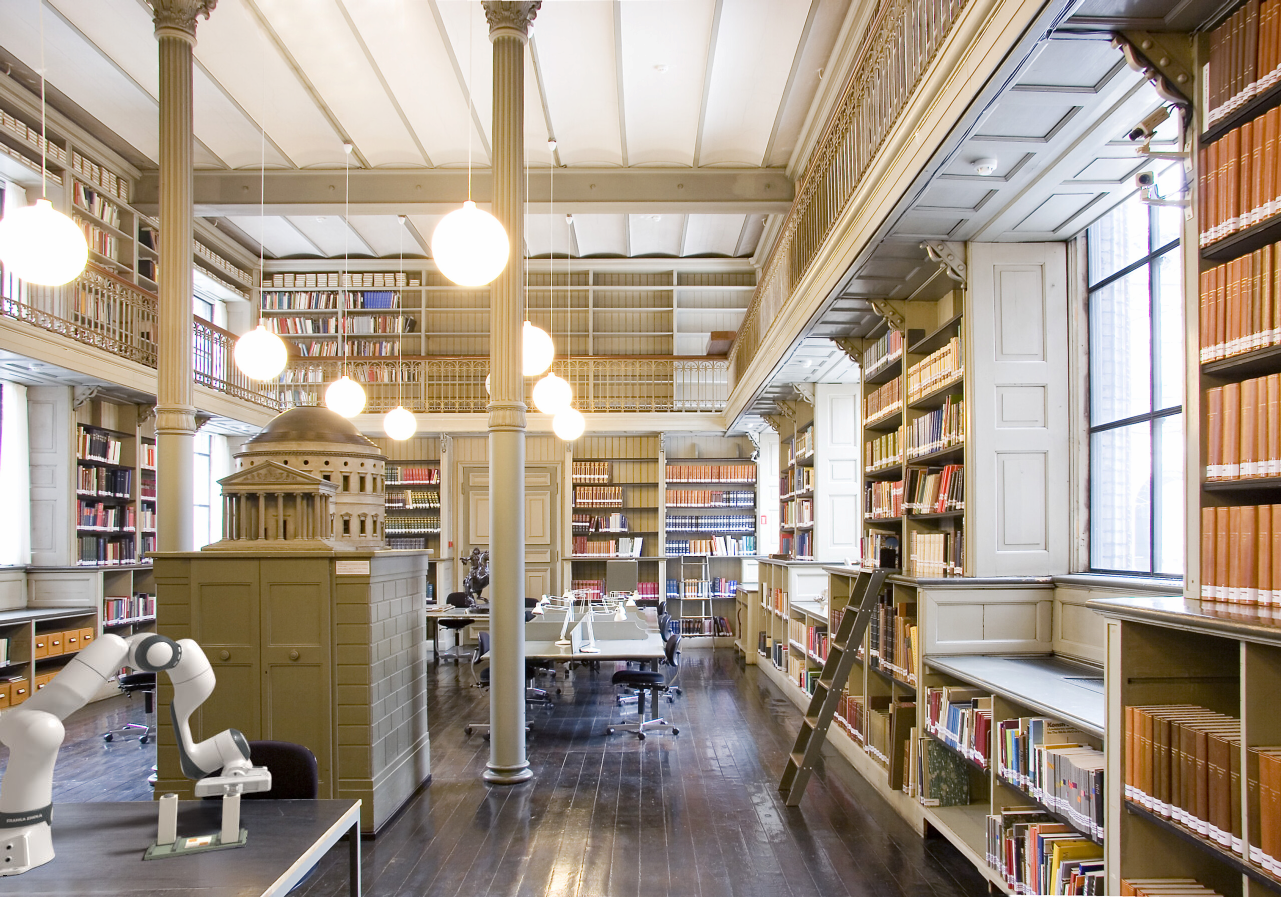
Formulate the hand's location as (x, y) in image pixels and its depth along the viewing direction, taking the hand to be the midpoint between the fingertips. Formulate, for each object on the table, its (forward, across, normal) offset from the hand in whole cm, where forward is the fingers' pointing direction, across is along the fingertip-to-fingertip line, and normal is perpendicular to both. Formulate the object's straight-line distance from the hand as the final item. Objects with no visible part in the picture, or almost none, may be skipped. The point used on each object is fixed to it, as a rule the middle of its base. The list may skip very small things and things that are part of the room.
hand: (232, 792), depth 240 cm
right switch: (+10, +1, +10) cm, 14 cm away
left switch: (+4, -15, +11) cm, 19 cm away
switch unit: (+7, -7, +12) cm, 15 cm away
